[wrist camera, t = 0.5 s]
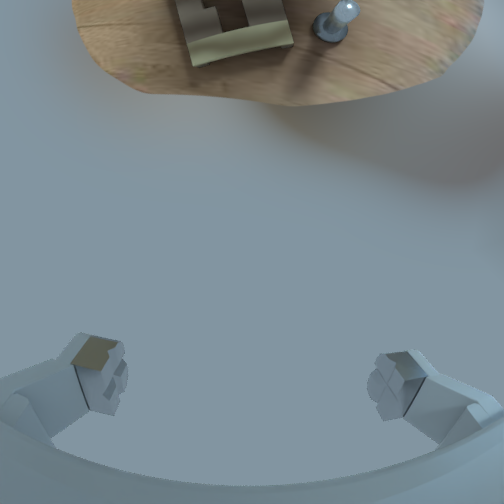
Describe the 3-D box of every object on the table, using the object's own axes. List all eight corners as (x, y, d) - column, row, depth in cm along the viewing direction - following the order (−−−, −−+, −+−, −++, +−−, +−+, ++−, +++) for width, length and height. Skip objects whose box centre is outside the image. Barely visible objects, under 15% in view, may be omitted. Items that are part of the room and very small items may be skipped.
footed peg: (309, 15, 35) (321, -10, 23) (341, 13, 34) (364, -10, 21) (317, 43, 38) (332, 27, 26) (349, 41, 37) (375, 27, 25)
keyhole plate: (176, -19, 31) (168, -26, 28) (264, -42, 28) (263, -52, 24) (199, 67, 42) (192, 66, 39) (292, 46, 39) (293, 43, 35)
